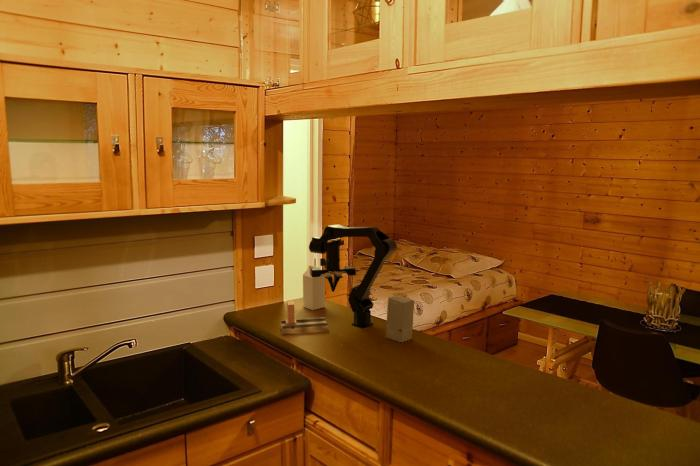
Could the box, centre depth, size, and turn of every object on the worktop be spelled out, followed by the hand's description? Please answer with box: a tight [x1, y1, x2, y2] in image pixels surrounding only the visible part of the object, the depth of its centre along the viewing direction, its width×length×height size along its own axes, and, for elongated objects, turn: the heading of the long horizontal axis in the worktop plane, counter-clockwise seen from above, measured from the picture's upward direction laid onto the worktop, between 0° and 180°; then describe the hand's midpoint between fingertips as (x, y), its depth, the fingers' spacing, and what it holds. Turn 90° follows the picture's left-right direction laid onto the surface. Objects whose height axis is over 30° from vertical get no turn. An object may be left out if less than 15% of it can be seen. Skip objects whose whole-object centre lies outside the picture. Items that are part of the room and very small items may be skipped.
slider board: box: [280, 317, 329, 335], centre depth 216 cm, size 18×10×3 cm, turn 101°
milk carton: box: [302, 265, 326, 311], centre depth 243 cm, size 7×7×19 cm
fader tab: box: [284, 300, 297, 325], centre depth 214 cm, size 4×5×9 cm
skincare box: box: [385, 295, 415, 343], centre depth 204 cm, size 8×7×16 cm
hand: (332, 291), depth 226 cm, fingers closed
